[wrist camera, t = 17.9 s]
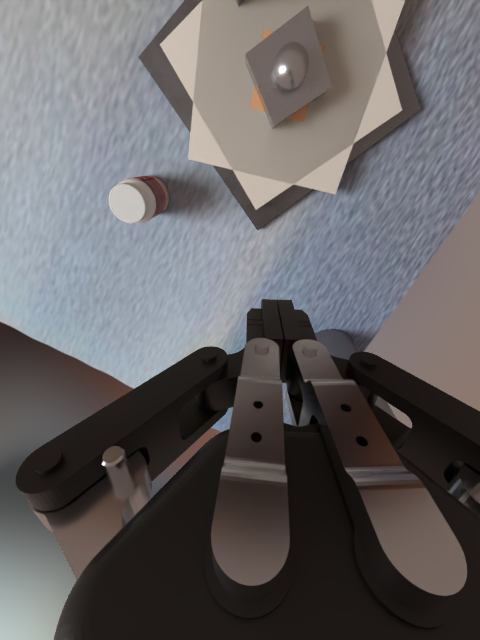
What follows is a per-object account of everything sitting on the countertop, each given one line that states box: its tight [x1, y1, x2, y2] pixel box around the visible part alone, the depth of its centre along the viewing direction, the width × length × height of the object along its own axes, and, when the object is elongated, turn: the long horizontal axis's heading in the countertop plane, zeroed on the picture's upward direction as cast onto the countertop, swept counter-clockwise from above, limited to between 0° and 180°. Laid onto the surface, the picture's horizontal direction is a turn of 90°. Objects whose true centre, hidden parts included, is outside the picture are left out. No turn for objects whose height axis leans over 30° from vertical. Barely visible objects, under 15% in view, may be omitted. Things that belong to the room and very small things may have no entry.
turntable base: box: [139, 0, 421, 230], centre depth 29 cm, size 22×22×1 cm
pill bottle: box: [109, 176, 169, 223], centre depth 32 cm, size 5×5×8 cm
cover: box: [245, 6, 332, 128], centre depth 25 cm, size 6×6×4 cm
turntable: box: [160, 0, 405, 210], centre depth 26 cm, size 26×26×6 cm
